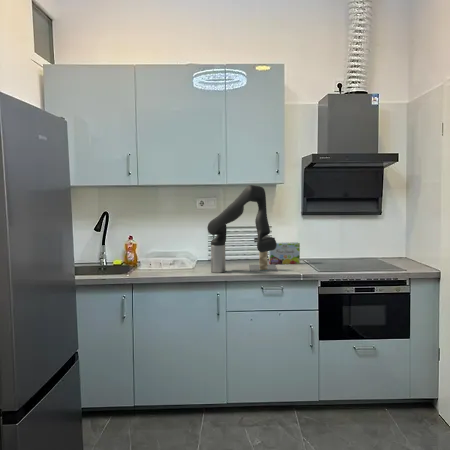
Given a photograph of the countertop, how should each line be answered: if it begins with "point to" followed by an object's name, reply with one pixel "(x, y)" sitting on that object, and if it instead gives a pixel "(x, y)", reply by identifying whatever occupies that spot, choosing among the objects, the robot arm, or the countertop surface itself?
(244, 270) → the countertop surface
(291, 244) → the snack box
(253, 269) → the charcoal mat
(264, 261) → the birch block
